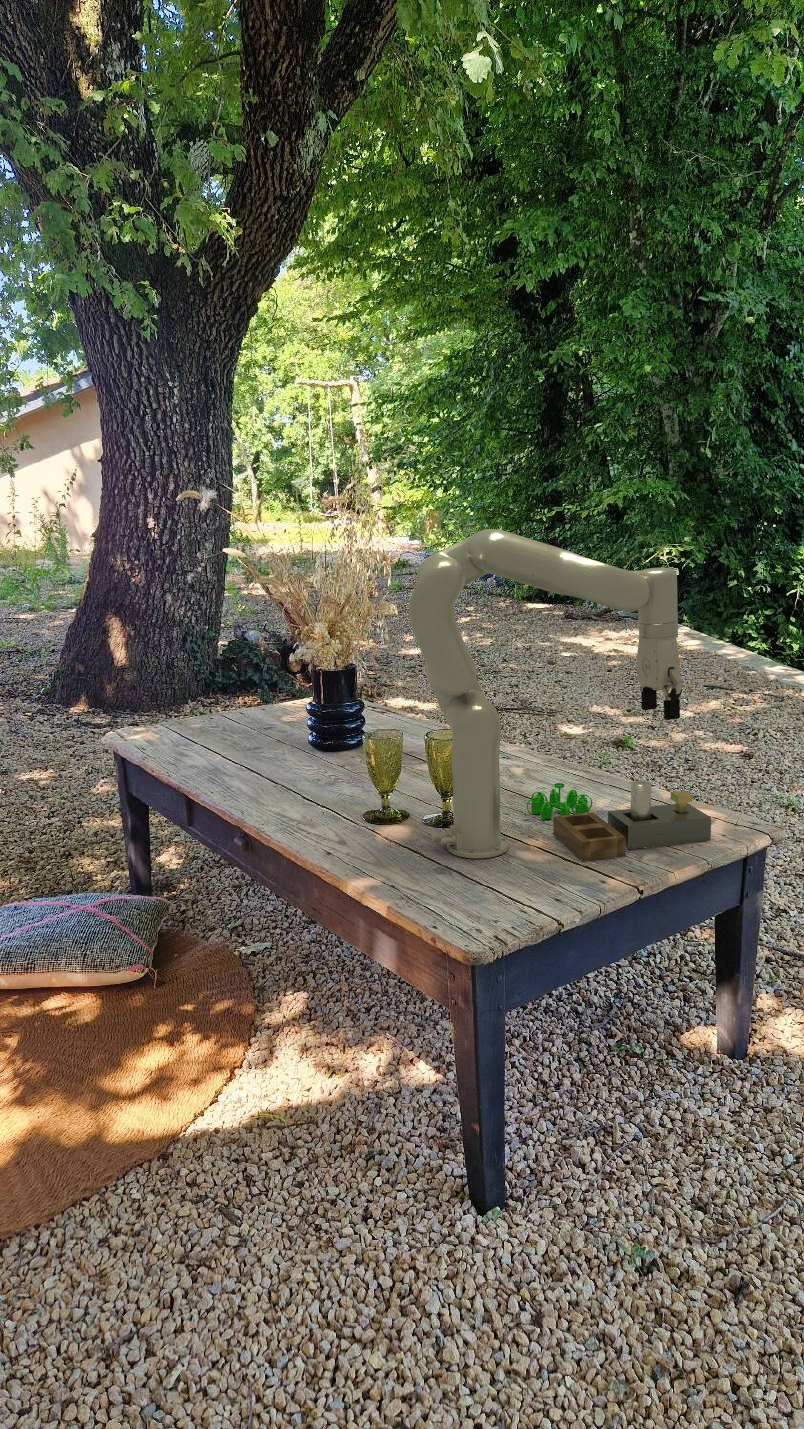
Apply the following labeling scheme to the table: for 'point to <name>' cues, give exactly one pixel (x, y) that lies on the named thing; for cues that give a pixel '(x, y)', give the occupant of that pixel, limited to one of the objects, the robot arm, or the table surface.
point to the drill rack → (589, 836)
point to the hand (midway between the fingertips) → (660, 714)
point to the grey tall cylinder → (640, 801)
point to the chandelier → (558, 803)
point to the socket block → (662, 827)
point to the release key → (681, 800)
